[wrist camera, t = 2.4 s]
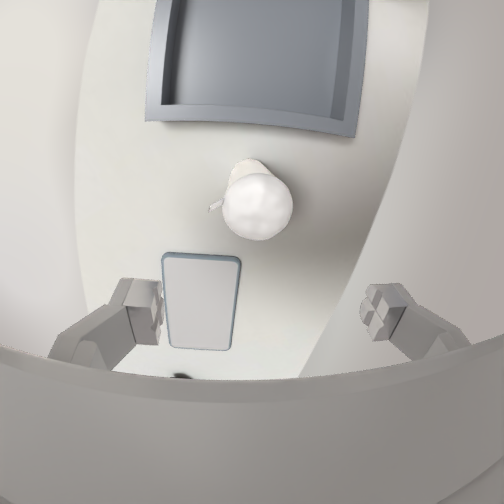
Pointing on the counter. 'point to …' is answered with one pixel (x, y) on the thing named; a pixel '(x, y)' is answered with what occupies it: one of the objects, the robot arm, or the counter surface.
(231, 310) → the smartphone
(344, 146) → the counter surface
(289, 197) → the milkshake
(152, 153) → the counter surface
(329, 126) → the tray
